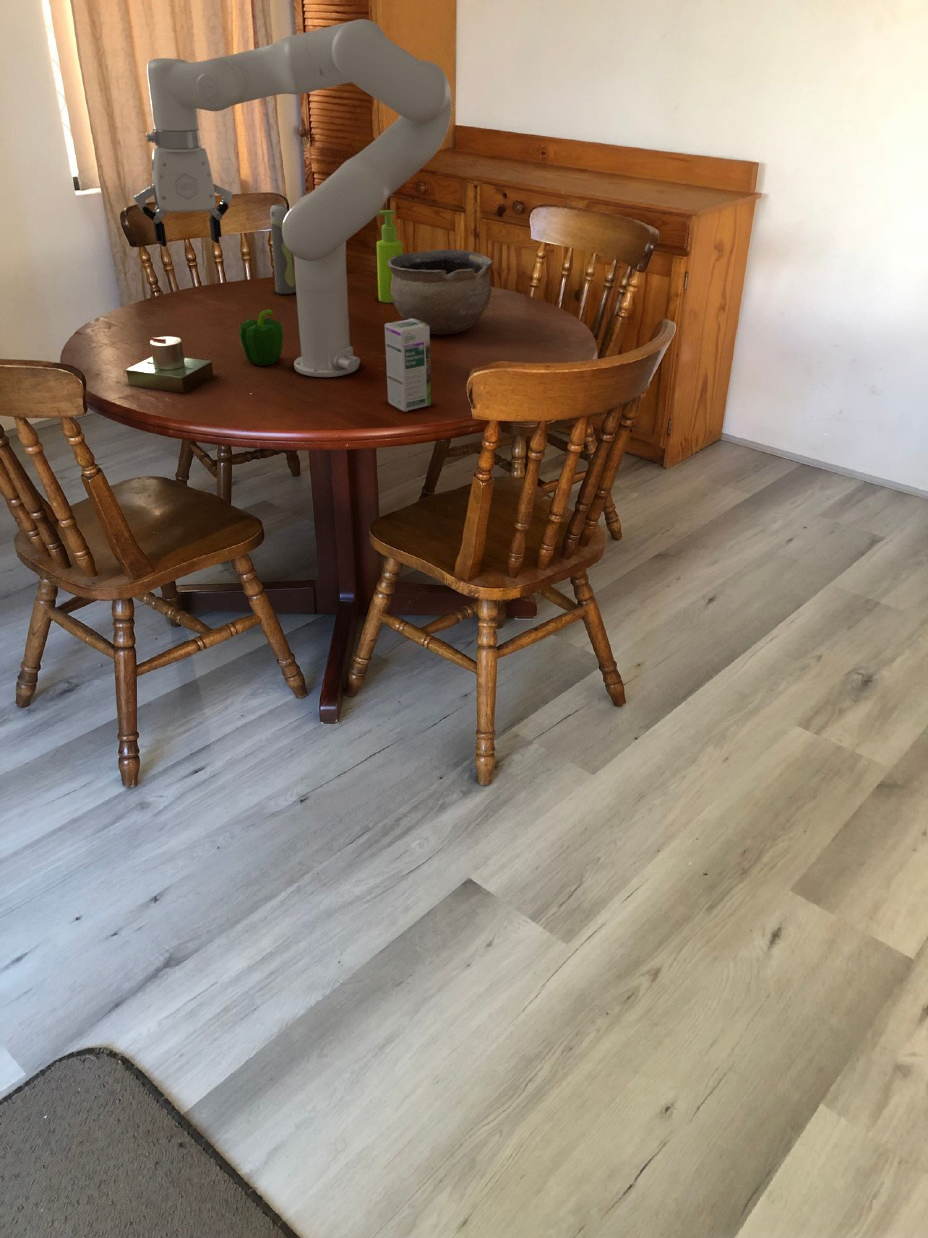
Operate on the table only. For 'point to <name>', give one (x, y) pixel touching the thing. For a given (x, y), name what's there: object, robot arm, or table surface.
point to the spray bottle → (281, 253)
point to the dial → (167, 353)
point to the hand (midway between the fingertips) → (189, 243)
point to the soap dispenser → (386, 255)
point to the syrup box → (408, 364)
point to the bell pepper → (262, 339)
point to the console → (170, 375)
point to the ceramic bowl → (441, 288)
